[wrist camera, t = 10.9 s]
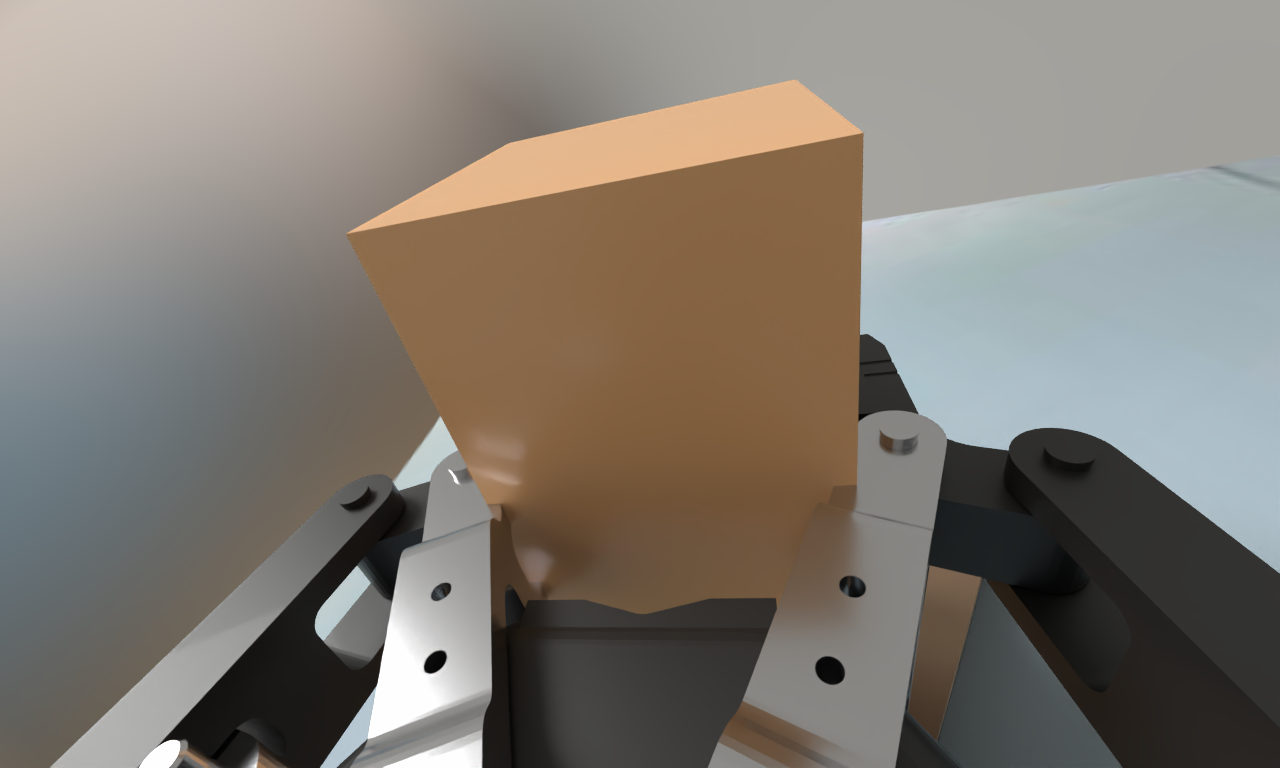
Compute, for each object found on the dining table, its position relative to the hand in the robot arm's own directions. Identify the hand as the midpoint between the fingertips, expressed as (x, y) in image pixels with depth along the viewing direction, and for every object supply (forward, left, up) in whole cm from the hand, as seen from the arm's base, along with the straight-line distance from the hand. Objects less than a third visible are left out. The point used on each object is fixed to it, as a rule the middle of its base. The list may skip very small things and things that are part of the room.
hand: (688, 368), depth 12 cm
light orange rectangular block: (+2, +1, -6) cm, 7 cm away
